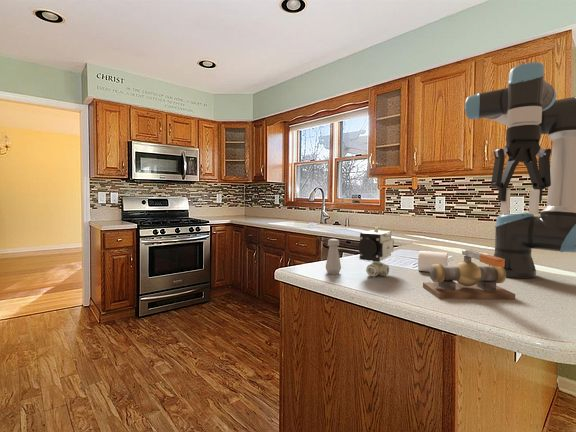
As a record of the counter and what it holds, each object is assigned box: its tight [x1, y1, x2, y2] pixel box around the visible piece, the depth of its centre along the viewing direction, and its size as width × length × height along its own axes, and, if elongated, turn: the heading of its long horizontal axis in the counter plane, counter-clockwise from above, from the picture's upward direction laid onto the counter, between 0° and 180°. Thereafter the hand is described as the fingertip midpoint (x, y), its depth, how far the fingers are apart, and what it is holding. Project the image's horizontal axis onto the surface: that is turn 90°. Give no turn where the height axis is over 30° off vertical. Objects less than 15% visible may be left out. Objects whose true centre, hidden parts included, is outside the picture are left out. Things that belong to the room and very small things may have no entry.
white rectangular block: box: [417, 250, 449, 273], centre depth 134 cm, size 12×10×8 cm
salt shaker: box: [325, 238, 342, 276], centre depth 129 cm, size 6×6×13 cm
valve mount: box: [422, 255, 516, 300], centre depth 104 cm, size 22×12×11 cm, turn 89°
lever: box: [461, 249, 505, 267], centre depth 97 cm, size 18×3×2 cm, turn 179°
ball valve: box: [357, 227, 394, 278], centre depth 127 cm, size 18×8×18 cm, turn 147°
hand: (519, 213), depth 91 cm, fingers open, 7 cm apart
